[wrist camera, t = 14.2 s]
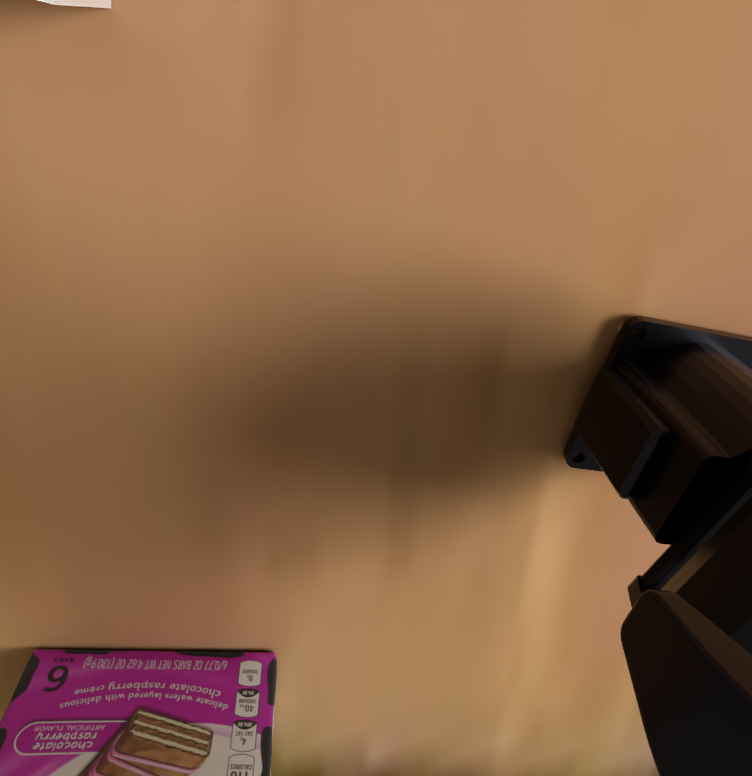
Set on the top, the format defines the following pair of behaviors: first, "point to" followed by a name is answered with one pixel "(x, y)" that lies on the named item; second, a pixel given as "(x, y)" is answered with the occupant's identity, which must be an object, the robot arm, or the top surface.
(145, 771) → the candy bar box
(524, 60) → the top surface
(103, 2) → the bore box
